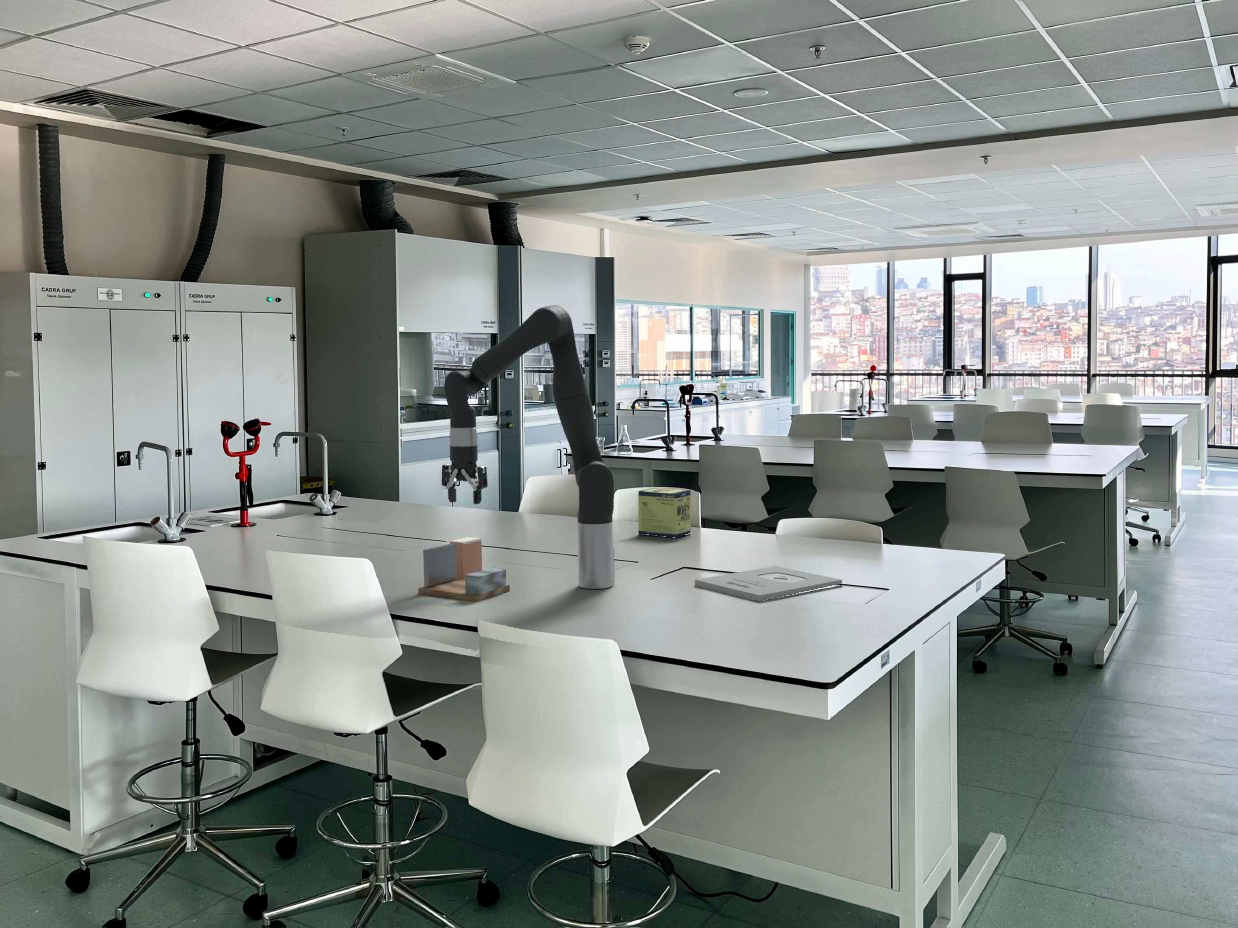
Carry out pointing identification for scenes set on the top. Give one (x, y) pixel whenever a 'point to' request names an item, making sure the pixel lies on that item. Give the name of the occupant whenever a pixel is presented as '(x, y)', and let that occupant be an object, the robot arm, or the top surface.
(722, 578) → the award plaque
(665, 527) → the protein box
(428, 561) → the bookend
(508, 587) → the rack
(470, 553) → the orange upright rectangular block
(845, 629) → the top surface
